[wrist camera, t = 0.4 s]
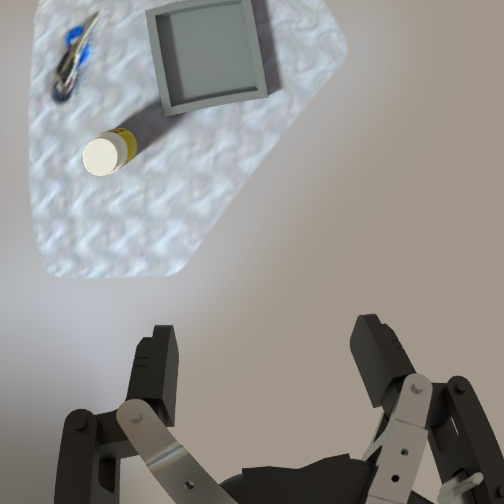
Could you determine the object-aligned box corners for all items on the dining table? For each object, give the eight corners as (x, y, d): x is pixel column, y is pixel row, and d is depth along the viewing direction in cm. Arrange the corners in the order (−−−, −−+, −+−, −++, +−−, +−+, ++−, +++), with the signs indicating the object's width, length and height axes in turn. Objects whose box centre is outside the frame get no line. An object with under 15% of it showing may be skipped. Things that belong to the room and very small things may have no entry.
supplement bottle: (132, 121, 33) (113, 126, 25) (144, 155, 35) (128, 169, 28) (99, 136, 33) (73, 146, 25) (111, 168, 35) (89, 186, 28)
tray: (148, 16, 26) (145, 10, 24) (246, -2, 27) (249, -8, 25) (167, 116, 33) (164, 117, 31) (264, 97, 34) (268, 97, 32)
